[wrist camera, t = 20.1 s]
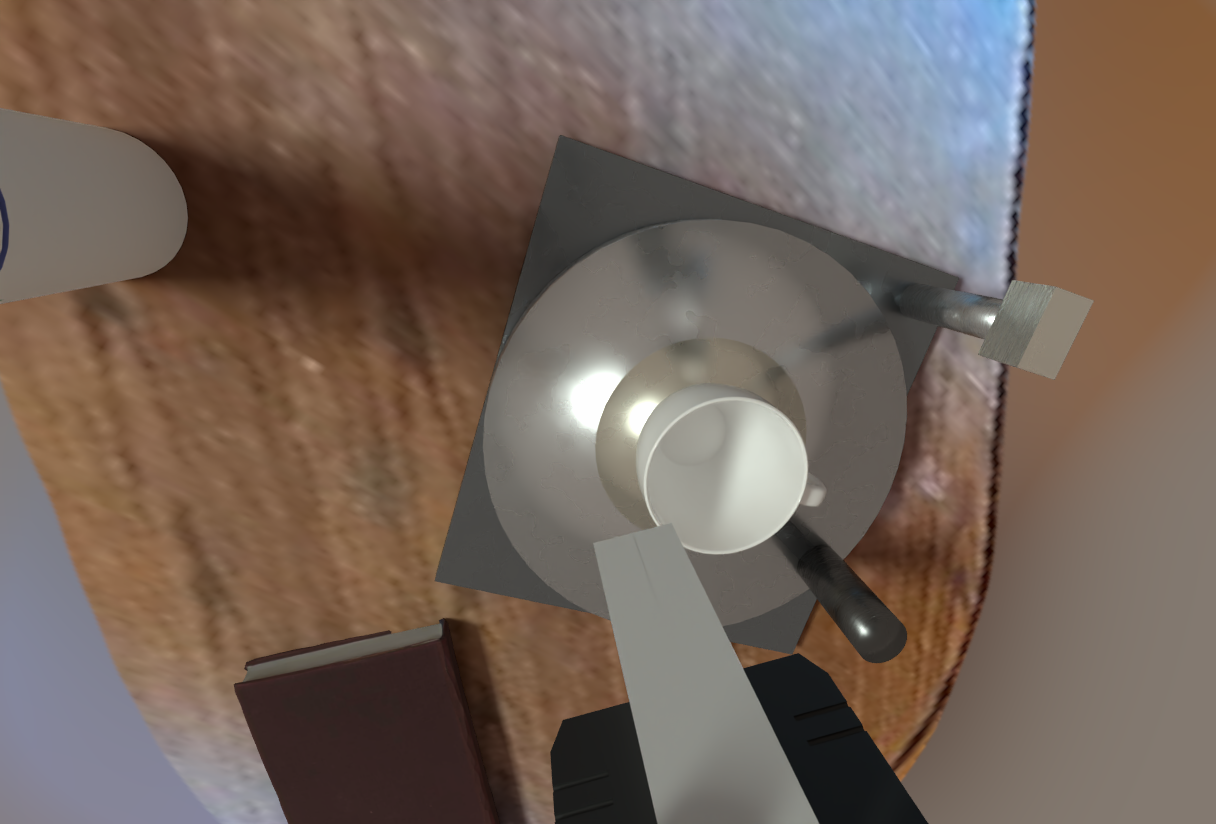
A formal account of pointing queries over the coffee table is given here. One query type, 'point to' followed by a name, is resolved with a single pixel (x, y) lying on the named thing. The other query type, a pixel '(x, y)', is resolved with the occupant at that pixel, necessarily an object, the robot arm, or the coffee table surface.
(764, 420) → the cup
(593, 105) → the coffee table surface
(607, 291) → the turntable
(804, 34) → the coffee table surface
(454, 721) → the book
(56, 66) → the coffee table surface
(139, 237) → the cylindrical container
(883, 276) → the base
